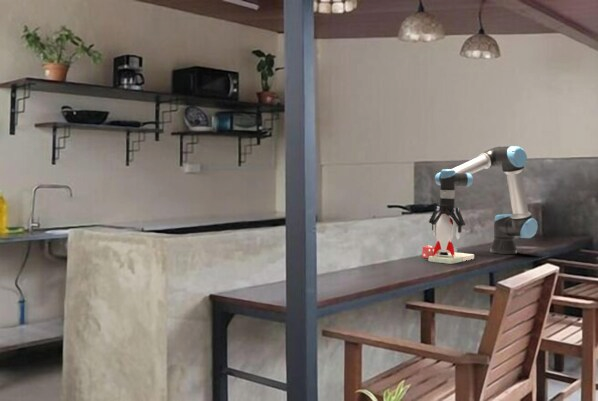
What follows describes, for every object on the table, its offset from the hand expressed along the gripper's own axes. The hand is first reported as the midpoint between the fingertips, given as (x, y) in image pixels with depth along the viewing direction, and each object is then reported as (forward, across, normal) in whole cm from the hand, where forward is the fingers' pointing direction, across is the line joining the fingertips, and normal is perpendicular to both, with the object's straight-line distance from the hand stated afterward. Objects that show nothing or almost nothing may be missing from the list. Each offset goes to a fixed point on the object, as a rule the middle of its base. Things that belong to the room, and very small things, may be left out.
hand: (446, 237), depth 343 cm
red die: (+13, -13, +6) cm, 19 cm away
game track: (+13, 0, +7) cm, 14 cm away
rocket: (+10, -1, 0) cm, 11 cm away
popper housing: (+13, -13, +20) cm, 27 cm away
